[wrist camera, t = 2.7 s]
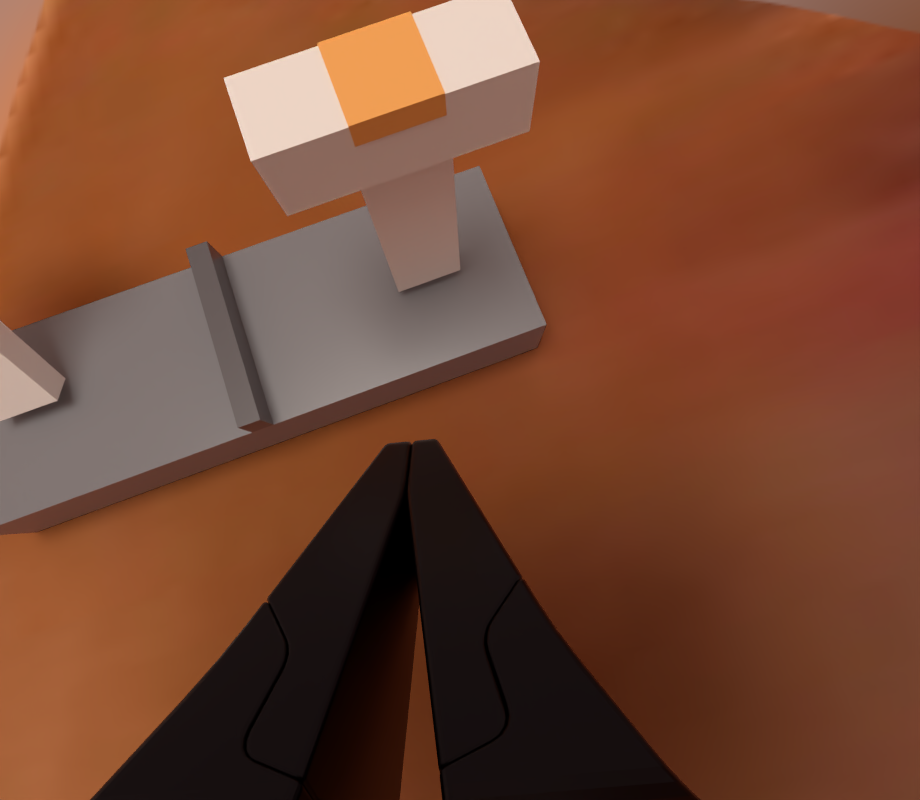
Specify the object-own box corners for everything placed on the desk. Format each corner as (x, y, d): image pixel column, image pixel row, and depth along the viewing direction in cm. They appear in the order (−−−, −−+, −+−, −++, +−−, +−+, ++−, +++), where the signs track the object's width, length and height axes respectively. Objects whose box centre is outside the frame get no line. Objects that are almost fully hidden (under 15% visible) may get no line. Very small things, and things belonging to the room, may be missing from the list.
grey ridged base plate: (537, 347, 22) (551, 313, 18) (36, 532, 21) (-69, 540, 17) (478, 207, 24) (479, 145, 19) (4, 376, 23) (-100, 349, 19)
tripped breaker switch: (510, 263, 19) (540, 60, 10) (355, 319, 19) (250, 160, 10) (490, 215, 20) (502, -21, 11) (338, 269, 19) (222, 75, 10)
